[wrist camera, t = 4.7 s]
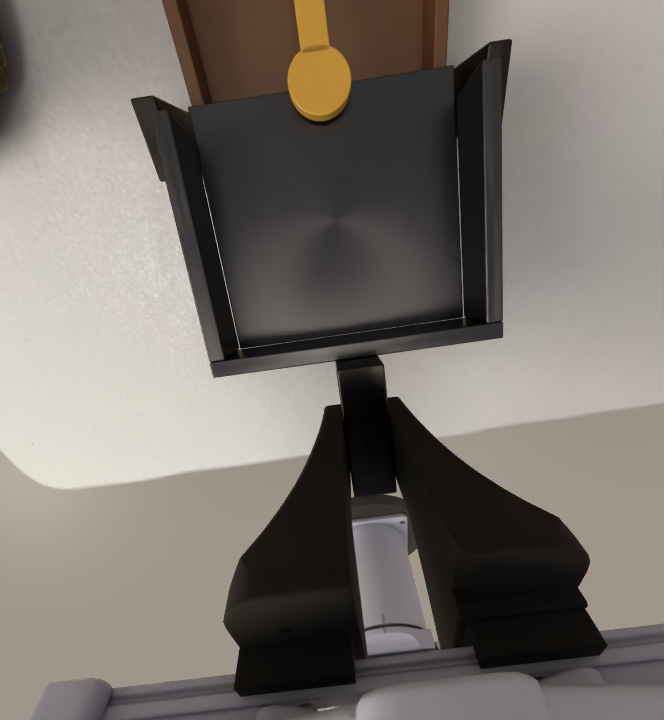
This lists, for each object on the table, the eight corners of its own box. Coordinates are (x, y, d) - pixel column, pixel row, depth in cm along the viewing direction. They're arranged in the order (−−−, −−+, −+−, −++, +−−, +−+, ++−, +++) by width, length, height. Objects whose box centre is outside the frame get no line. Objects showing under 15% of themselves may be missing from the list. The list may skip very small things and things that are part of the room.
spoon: (354, 117, 11) (355, 110, 11) (294, 126, 11) (292, 119, 11) (333, -65, 10) (333, -79, 10) (268, -54, 10) (265, -68, 10)
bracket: (456, 139, 15) (502, 129, 11) (196, 179, 15) (159, 181, 12) (460, 73, 14) (513, 37, 10) (176, 117, 14) (129, 98, 10)
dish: (474, 429, 15) (522, 477, 11) (255, 458, 15) (232, 514, 12) (464, 72, 12) (528, -26, 8) (178, 117, 12) (110, 42, 8)
